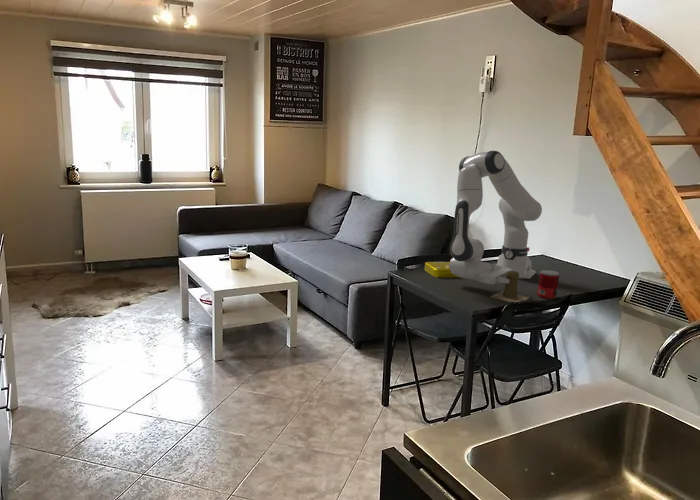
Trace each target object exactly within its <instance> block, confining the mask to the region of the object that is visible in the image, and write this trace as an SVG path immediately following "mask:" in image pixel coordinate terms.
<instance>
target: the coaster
mask: <svg viewBox="0 0 700 500" xmlns="http://www.w3.org/2000/svg"><path fill="white" fill-rule="evenodd" d="M503 293H504V290H502V291H500V292H497V293H494V294H493V295H491V296H490V298H492V299H496V300H500V301H504V302H507V301H508V302H509V303H511V302H518V301H519V302H520V301H523V302H525V301H528V300H529V299H530V297H529V296H528V295H527V296H526V295H522V294H519V293H517V298H513V299H512V298H506V297H504V296H503Z"/></svg>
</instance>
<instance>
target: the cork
mask: <svg viewBox="0 0 700 500" xmlns="http://www.w3.org/2000/svg"><path fill="white" fill-rule="evenodd" d="M506 277H507V278H508V279H510V283H508V284H507V283H505V286H504V289H503V291H504V293H503V296H504V297H506V298H512V299H513V298H517V294H518V280H519V279H518V278H519V273H518V272H516V271H508V272H507V274H506ZM517 279H518V280H517Z"/></svg>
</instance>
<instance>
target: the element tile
mask: <svg viewBox="0 0 700 500" xmlns="http://www.w3.org/2000/svg"><path fill="white" fill-rule="evenodd" d="M424 271H425V272H426V273H428V274H430V276H432V277H434V278H459V277H458V276H456V275H454V274H453V273H452V272H451V271H450V261H426V262H424Z"/></svg>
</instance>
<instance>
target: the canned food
mask: <svg viewBox="0 0 700 500" xmlns="http://www.w3.org/2000/svg"><path fill="white" fill-rule="evenodd" d="M559 280H560V272H558V271H555V270H550V269H549V270H548V269H542V270H540V271H539V277H538V285H537V293H536V295H537V297H539V298H541V299H545V300H550V299H549V298H555V299H556V298H557V296H558V295H557V294H558V289H559V288H558V287H559V282H560V281H559Z"/></svg>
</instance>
